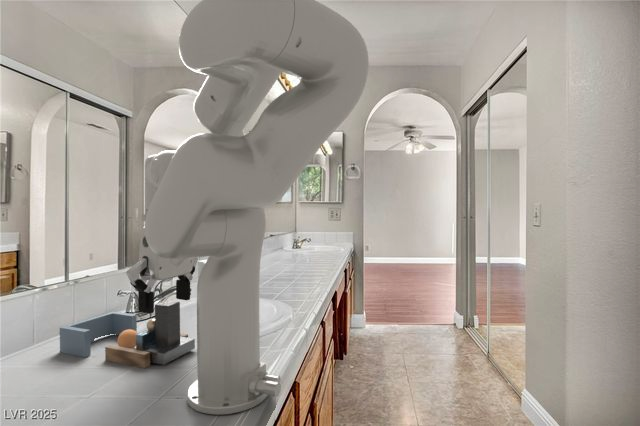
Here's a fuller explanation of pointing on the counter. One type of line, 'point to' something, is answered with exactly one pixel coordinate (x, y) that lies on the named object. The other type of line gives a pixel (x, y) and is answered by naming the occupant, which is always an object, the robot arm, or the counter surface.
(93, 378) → the counter surface
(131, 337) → the ball
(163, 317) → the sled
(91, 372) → the counter surface
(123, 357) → the rail
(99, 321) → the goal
